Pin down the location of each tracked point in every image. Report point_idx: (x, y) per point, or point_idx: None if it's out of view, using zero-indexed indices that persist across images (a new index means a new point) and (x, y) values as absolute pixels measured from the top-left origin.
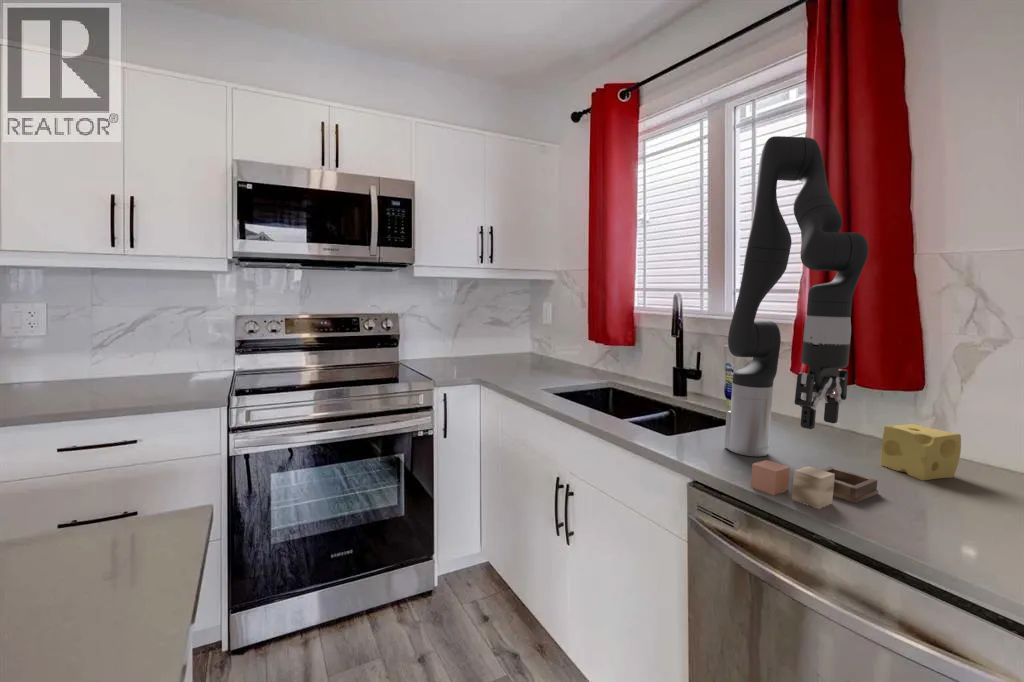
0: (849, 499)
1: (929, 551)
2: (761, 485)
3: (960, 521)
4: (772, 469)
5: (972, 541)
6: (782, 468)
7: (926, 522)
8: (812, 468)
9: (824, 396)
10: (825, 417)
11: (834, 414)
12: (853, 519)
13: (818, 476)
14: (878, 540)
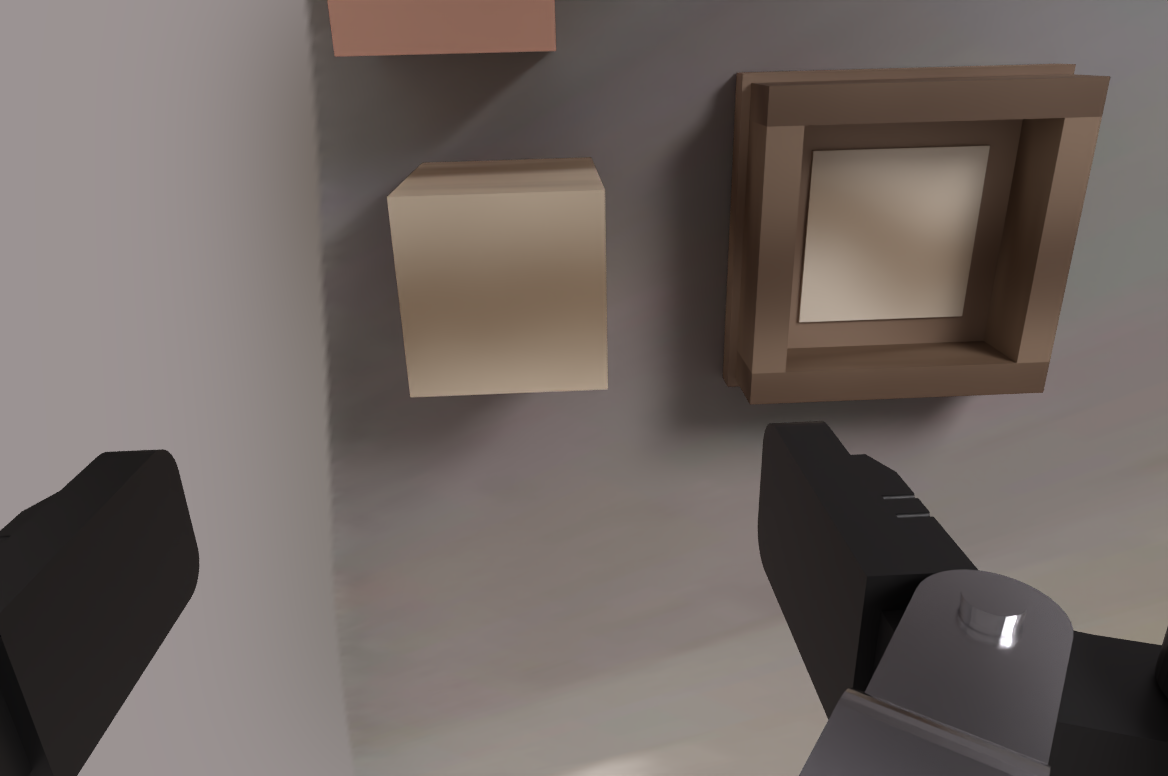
0: (725, 349)
1: (459, 729)
2: None
3: None
4: (350, 6)
5: (716, 758)
6: (461, 37)
7: (770, 624)
8: (575, 243)
9: (871, 680)
10: (780, 459)
11: (792, 609)
12: (486, 470)
13: (433, 365)
14: (363, 615)
